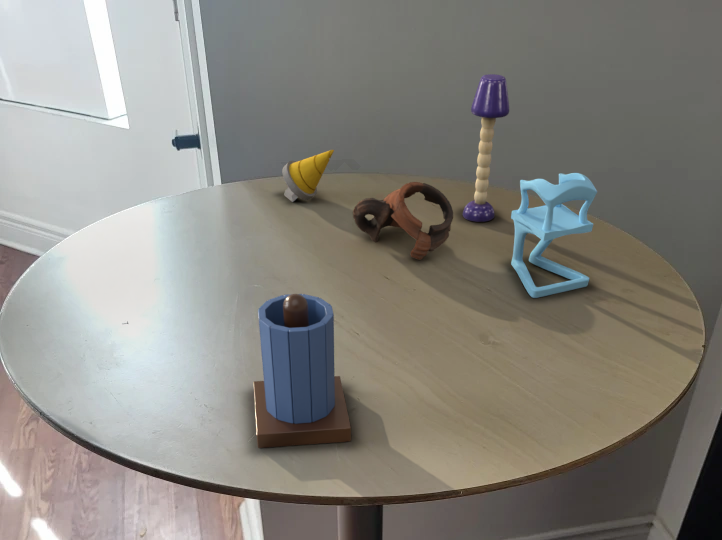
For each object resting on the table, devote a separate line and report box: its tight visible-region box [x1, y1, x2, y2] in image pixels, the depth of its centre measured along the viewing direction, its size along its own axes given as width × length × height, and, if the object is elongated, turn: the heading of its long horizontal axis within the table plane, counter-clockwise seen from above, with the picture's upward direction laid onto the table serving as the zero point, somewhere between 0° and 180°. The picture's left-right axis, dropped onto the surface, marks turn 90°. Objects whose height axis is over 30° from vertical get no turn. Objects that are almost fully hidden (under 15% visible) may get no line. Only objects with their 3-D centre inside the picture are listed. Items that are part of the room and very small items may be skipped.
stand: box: [252, 293, 352, 449], centre depth 66 cm, size 8×8×12 cm
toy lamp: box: [462, 73, 510, 223], centre depth 98 cm, size 5×5×17 cm
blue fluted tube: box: [257, 293, 335, 424], centre depth 66 cm, size 6×6×9 cm
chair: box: [510, 172, 598, 299], centre depth 87 cm, size 8×8×12 cm
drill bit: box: [281, 149, 335, 203], centre depth 104 cm, size 5×5×10 cm
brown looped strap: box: [352, 181, 454, 261], centre depth 94 cm, size 12×10×8 cm
